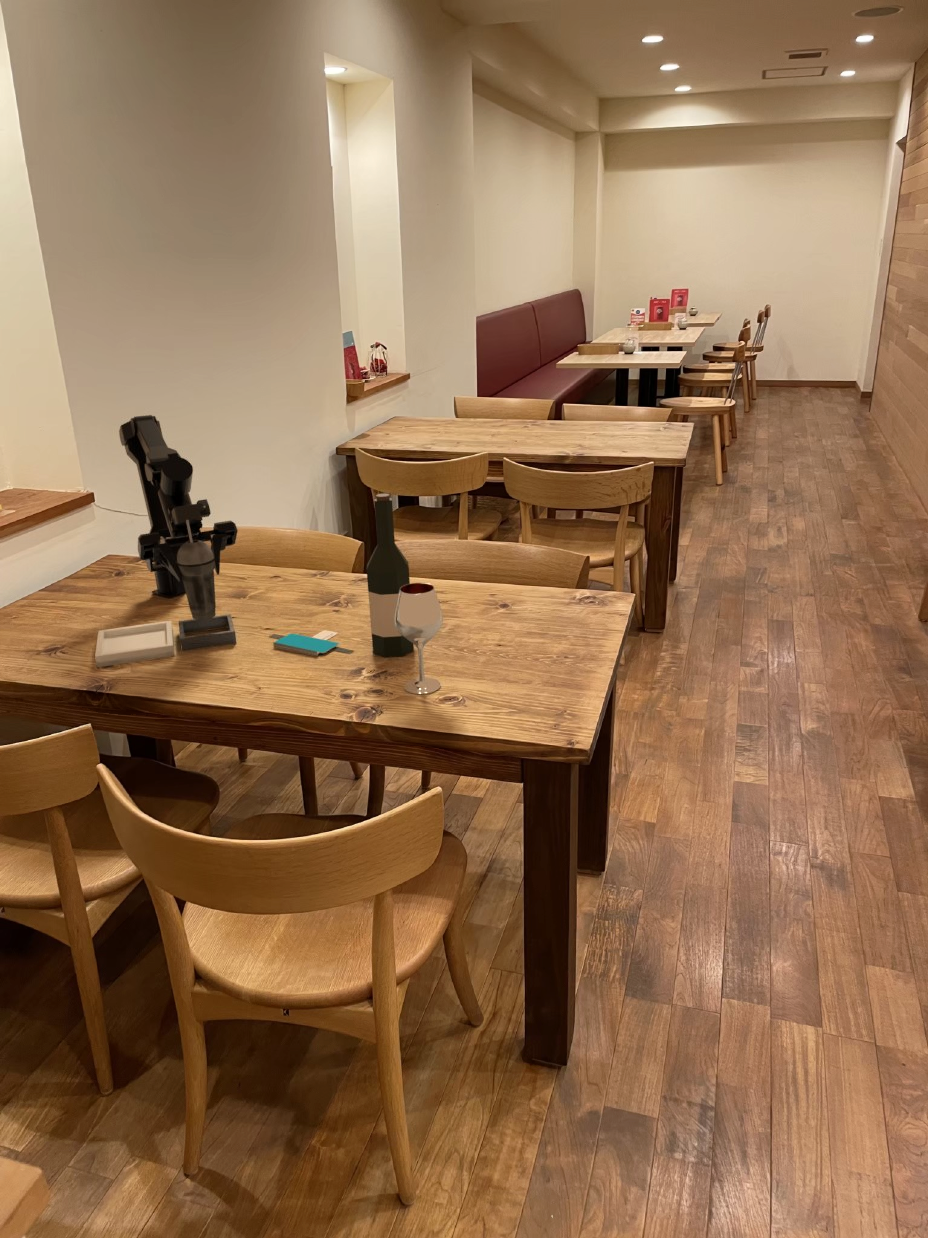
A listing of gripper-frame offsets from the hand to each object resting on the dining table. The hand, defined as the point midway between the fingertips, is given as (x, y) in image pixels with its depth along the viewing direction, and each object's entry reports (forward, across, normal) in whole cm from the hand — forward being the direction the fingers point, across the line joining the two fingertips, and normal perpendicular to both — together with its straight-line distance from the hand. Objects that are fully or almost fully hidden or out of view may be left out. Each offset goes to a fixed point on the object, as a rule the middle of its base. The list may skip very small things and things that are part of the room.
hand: (199, 577), depth 174 cm
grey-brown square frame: (+9, 0, +10) cm, 13 cm away
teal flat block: (+19, +17, +1) cm, 26 cm away
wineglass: (+40, +26, -21) cm, 52 cm away
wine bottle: (+27, +29, -8) cm, 41 cm away
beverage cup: (+5, 0, +7) cm, 9 cm away
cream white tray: (+7, -13, +12) cm, 19 cm away
